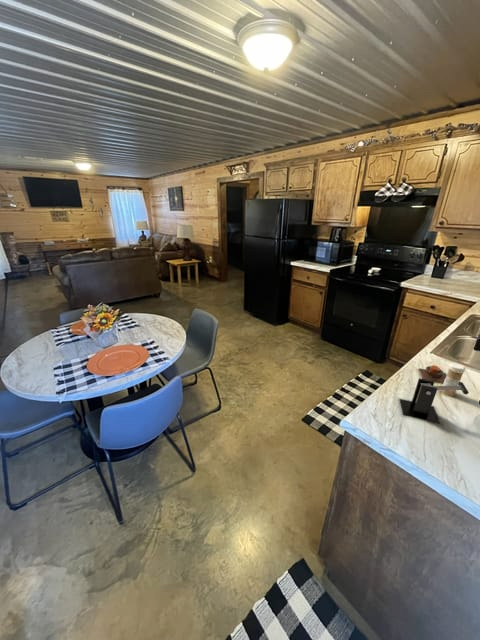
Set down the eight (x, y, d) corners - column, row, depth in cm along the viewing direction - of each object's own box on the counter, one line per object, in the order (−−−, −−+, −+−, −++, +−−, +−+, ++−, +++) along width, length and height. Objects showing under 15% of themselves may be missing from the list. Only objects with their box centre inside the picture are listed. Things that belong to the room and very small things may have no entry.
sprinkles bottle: (446, 390, 106) (457, 361, 101) (457, 397, 102) (468, 368, 97) (436, 391, 106) (447, 363, 100) (447, 398, 101) (458, 369, 96)
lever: (463, 386, 88) (463, 380, 87) (468, 395, 84) (468, 389, 83) (420, 386, 93) (419, 380, 92) (423, 395, 89) (422, 389, 88)
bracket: (432, 409, 96) (443, 380, 91) (439, 426, 89) (451, 395, 84) (398, 401, 100) (407, 373, 95) (402, 417, 92) (411, 387, 87)
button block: (443, 375, 116) (446, 368, 115) (449, 386, 109) (452, 379, 107) (417, 370, 119) (419, 364, 118) (421, 381, 112) (424, 374, 111)
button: (437, 369, 115) (438, 366, 114) (439, 373, 112) (441, 370, 111) (429, 368, 116) (430, 364, 115) (430, 371, 113) (432, 368, 112)
